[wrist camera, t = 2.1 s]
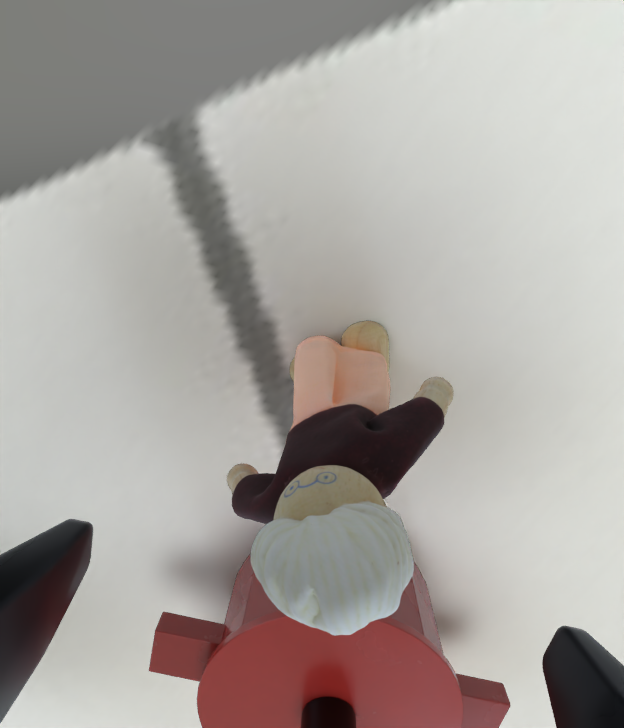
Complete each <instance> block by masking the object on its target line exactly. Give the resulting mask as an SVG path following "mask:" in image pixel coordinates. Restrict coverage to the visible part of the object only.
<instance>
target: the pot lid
mask: <svg viewBox="0 0 624 728" xmlns="http://www.w3.org/2000/svg"><path fill="white" fill-rule="evenodd" d="M197 707H198V714H199V718H200V722H201V725H202V727H203V728H461V726H462V721H463V698H462V693H461V689H460V685H459V682H458V679H457V677H456V674H455V671H454V670H453V668H452V666H451V665H450V663H449V661H448V660H447V658H446V657H445V656H444V655H443V653H442V652H441V651H440V650H439V649H438V647H436V646H435V645H434V644H433V643H432V642H431V641H430V640H429V639H428V638H427V637H425V636H424V635H422V634H421V633H419V632H418V631H417V630H415V629H414V628H412V627H410V626H408V625H406V624H405V623H403V622H401V621H399V620H397V619H394V618H392V617H389V616H388V617H385V618H381V619H377V620H374V621H371V622H369V623H368V625H367V626H365V627H364V628H362V629H360V630H358V631H356V632H354V633H353V634H351V635H336V636H334V635H332V634H330V633H328V632H326V631H323V630H320V629H318V628H313V627H310V626H307V625H305V624H303V623H300V622H298V621H296V620H294V619H292V618H290V617H288V616H286V615H285V614H284V613H283V612H281V611H280V610H278V611H275V612H271V613H268V614H266V615H263V616H261V617H258V618H256V619H254V620H252V621H250V622H248V623H246V624H244V625H243V626H241V627H239V628H238V629H237V630H235V631H234V632H233V633H231V634H230V635H229V636H228V637H226V638H225V639H224V640H223V641H222V642H221V643H220V644H219V645H218V647H217V648H216V649H215V650H214V652H213V653H212V654H211V656H210V657H209V659H208V661H207V663H206V665H205V667H204V670H203V673H202V676H201V679H200V683H199V687H198V695H197Z"/></svg>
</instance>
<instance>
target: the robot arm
mask: <svg viewBox="0 0 624 728" xmlns="http://www.w3.org/2000/svg"><path fill="white" fill-rule="evenodd" d="M92 537H93V526H92V524H91V523H89V522H85V521H80V520H75V519H69V520H66V521H64V522H62V523H60V524H58V525H57V526H55V527H53V528H51V529H49V530H47V531H45V532H43V533H41V534H39V535H38V536H36V537H34V538H32V539H30V540H28V541H26V542H24V543H22V544H20V545H18V546H17V547H15V548H13V549H11V550H9V551H7V552H5V553H3V554H1V555H0V723H1V722H2V720H3V718H4V717H5V715H6V714H7V712H8V711H9V709H10V707H11V706H12V704H13V703H14V701H15V700H16V698H17V697H18V695H19V693H20V692H21V690H22V689H23V687H24V686H25V684H26V682H27V681H28V679H29V678H30V676H31V675H32V673H33V671H34V670H35V668H36V667H37V665H38V663H39V662H40V660H41V658H42V657H43V655H44V653H45V651H46V649H47V648H48V646H49V644H50V642H51V640H52V638H53V636H54V634H55V632H56V630H57V628H58V626H59V624H60V622H61V620H62V618H63V616H64V614H65V612H66V610H67V608H68V606H69V605H70V603H71V601H72V599H73V597H74V595H75V593H76V591H77V589H78V587H79V585H80V583H81V581H82V579H83V577H84V575H85V573H86V571H87V568H88V566H89V563H90V558H91V548H92ZM543 672H544V676H545V680H546V684H547V689H548V693H549V697H550V701H551V706H552V710H553V714H554V718H555V722H556V727H557V728H624V666H623V665H622V664H621V663H620V662H619V661H618V660H617V659H616V658H615V657H613V656H612V655H611V654H610V653H609V652H608V651H607V650H606V649H605V648H604V647H603V646H601V645H600V644H599V643H598V642H597V641H596V640H595V639H594V638H593V637H592V636H590V635H589V634H588V633H587V632H586V631H584V630H582V629H578V628H573V627H569V626H561V627H560V628H558V630H557V631H556V633H555V635H554V637H553V639H552V641H551V642H550V644H549V646H548V648H547V650H546V652H545V654H544V656H543Z"/></svg>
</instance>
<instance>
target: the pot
mask: <svg viewBox="0 0 624 728" xmlns="http://www.w3.org/2000/svg"><path fill="white" fill-rule="evenodd" d="M413 562H414V561H413ZM278 610H279V609H278V608H277V607H276V606H275V605H274V603H273V602H272V601H271V600H270V598H269V597H268V596H267V594H266V593H265V591H264V589H263V587H262V584H261V583H260V582H259V580H258V579H257V577H256V575H255V573H254V570H253V568H252V565H251V553H250V555H249V556H248V557H247V559H246V560H245V561H244V563H243V564H242V566H241V568H240V570H239V571H238V573H237V576H236V580H235V584H234V588H233V592H232V596H231V600H230V603H229V607H228V611H227V615H226V619H225V623H224V624H220V623H215V622H210V621H205V620H201V619H196V618H191V617H186V616H182V615H177V614H172V613H167V612H163V613H162V615H161V618H160V620H159V623H158V625H157V628H156V630H155V635H154V641H153V648H152V654H151V660H150V667H149V671H151V672H156V673H161V674H166V675H171V676H175V677H180V678H185V679H190V680H195V681H200V679H201V676H202V673H203V670H204V667H205V665H206V663H207V661H208V659H209V657H210V656H211V654H212V653H213V652H214V650H215V649H216V648H217V647H218V645H219V644H220V643H221V642H222V641H223V640H224V639H225V638H226V637H228V636H229V635H230V634H231V633H233V632H234V631H235V630H237V629H238V628H239V627H241V626H243V625H244V624H246V623H248V622H250V621H252V620H254V619H256V618H258V617H261V616H263V615H266V614H268V613H271V612H275V611H278ZM389 617H392V618H394V619H397V620H399V621H401V622H403V623H405V624H406V625H408V626H410V627H412V628H414V629H415V630H417V631H418V632H419V633H421V634H422V635H424V636H425V637H427V638H428V639H429V640H430V641H431V642H432V643H433V644H434V645H435V646H436V647H438V649H439V650H440V651H441V652H442V653H443V650H442V646H441V642H440V638H439V634H438V630H437V626H436V622H435V618H434V613H433V609H432V605H431V601H430V597H429V593H428V589H427V585H426V582H425V580H424V579H423V577H422V575H421V572H420V571H419V569H418V567H417V565H416V564H415V562H414V571H413V576H412V577H411V579H410V581H409V583H408V585H407V586H406V587H405V589H404V591H403V593H402V595H401V599H400V604H399V607H398V609H397V610H396V611H395V612H394V613H393V614H391V615H390V616H389ZM455 674H456V673H455ZM456 677H457V679H458V682H459V685H460V689H461V693H462V698H463V721H462V726H461V728H499V726H500V724H501V722H502V721H503V719H504V717H505V715H506V713H507V711H508V709H509V708H510V702H509V699H508V696H507V693H506V690H505V688H504V685H503V684H502V683H498V682H494V681H489V680H484V679H479V678H475V677H470V676H465V675H460V674H456Z"/></svg>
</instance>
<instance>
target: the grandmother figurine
mask: <svg viewBox="0 0 624 728" xmlns="http://www.w3.org/2000/svg"><path fill="white" fill-rule="evenodd" d="M388 371H389V339H388V335H387V332H386V330H385V329H384V328H383V327H382V326H381V325H380V324H378V323H376V322H373V321H362V322H358V323H355V324H352V325H351V326H349V327H348V328H347V329H346V330H345V332H344V333H343V336H342V338H341V345H340V344H338V343H337V342H336V341H334V340H333V339H331V338H329V337H326V336H312V337H309V338H307V339H305V340H303V341H302V342H301V343H300V344H299V345H298V346H297V348H296V354H295V357H294V358H293V360H292V362H291V364H290V376H291V379H292V380H293V382H294V402H293V415H294V420H293V425H292V427H291V429H290V431H289V433H288V436H287V439H286V445H285V448H284V451H283V454H282V457H281V460H280V463H279V466H278V469H277V472H276V474H268V473H266V474H258V472H257V471H256V469H255V468H254V467H252V466H250V465H248V464H237V465H235V466H234V467H233V468H232V469H231V470H230V471H229V473H228V475H227V483H228V486H229V488H230V489H231V491H232V494H233V496H232V507H233V509H234V512H235V513H236V514H237V515H238V516H240V517H242V518H245V519H251V520H254V521H257V522H261V523H266V525H265V526H264V527H263V528H262V529H261V530H260V531H259V532H258V534H257V536H256V538H255V540H254V542H253V545H252V549H251V565H252V568H253V570H254V573H255V575H256V577H257V579H258V580H259V582H260V583H261V584H262V587H263V589H264V591H265V593H266V594H267V596H268V597H269V598H270V600H271V601H272V602H273V603H274V605H275V606H276V607H277V608H278V609H279V610H280V611H281V612H283V613H284V614H285V615H286V616H288V617H290V618H292V619H294V620H296V621H298V622H300V623H303V624H305V625H307V626H310V627H313V628H318V629H320V630H323V631H326V632H328V633H330V634H332V635H334V636H336V635H351V634H353V633H354V632H356V631H358V630H360V629H362V628H364V627H365V626H367V625H368V623H369V622H371V621H374V620H377V619H381V618H385V617H388V616H390V615H391V614H393V613H394V612H395V611H396V610H397V609H398V607H399V604H400V599H401V595H402V593H403V591H404V589H405V587H406V586H407V585H408V583H409V581H410V579H411V577H412V576H413V571H414V562H413V556H412V552H411V547H410V542H409V539H408V536H407V532H406V531H405V529H404V526H403V523H402V521H401V518H400V517H399V516H398V514H397V513H396V512H394V511H393V510H391V509H389V508H388V507H386V505H385V503H384V500H383V499H384V498H385V497H387V496H389V495H390V494H391V493H392V492H393V490H394V489H395V487H396V486H397V484H398V483H399V481H400V480H401V479H402V477H403V476H404V475H405V474H406V472H407V471H408V470H409V469H410V468H411V467H412V466H413V465H414V463H415V462H416V461H417V460H418V458H419V457H420V456H421V455H422V454H423V452H424V451H425V450H426V449H427V447H428V446H429V444H430V443H431V442H432V441H433V439H434V438H435V437H436V436H437V435H438V433H439V432H440V430H441V429H442V427H443V425H444V417H445V415H446V413H447V409H448V406H449V405H450V403H451V401H452V399H453V388H452V386H451V384H450V383H449V382H448V381H447V380H445V379H444V378H441V377H432V378H429V379H427V380H426V381H424V383H423V384H422V385H421V387H420V390H419V392H418V393H417V394H416V395H415V396H414V398H413V399H412V400H410V401H408V402H406V403H404V404H402V405H399V406H397V407H395V408H392V409H390V410H388V408H389V399H390V379H389V374H388Z"/></svg>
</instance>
